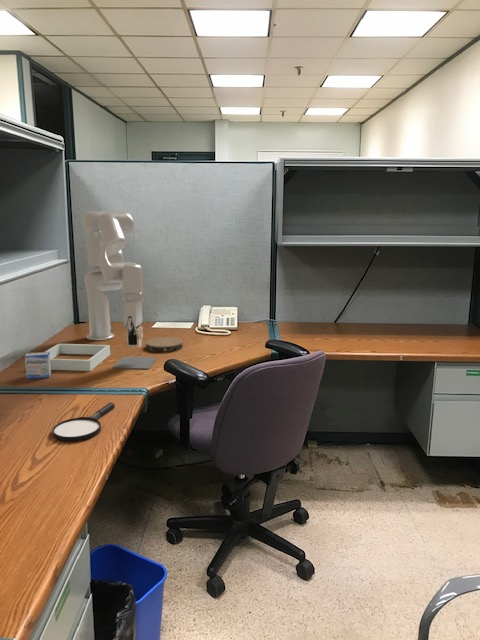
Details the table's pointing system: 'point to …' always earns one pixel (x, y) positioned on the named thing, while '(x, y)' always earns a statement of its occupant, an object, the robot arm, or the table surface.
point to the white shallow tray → (78, 365)
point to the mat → (135, 363)
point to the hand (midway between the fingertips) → (134, 342)
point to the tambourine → (164, 344)
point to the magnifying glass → (80, 426)
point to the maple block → (139, 337)
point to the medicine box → (37, 365)
